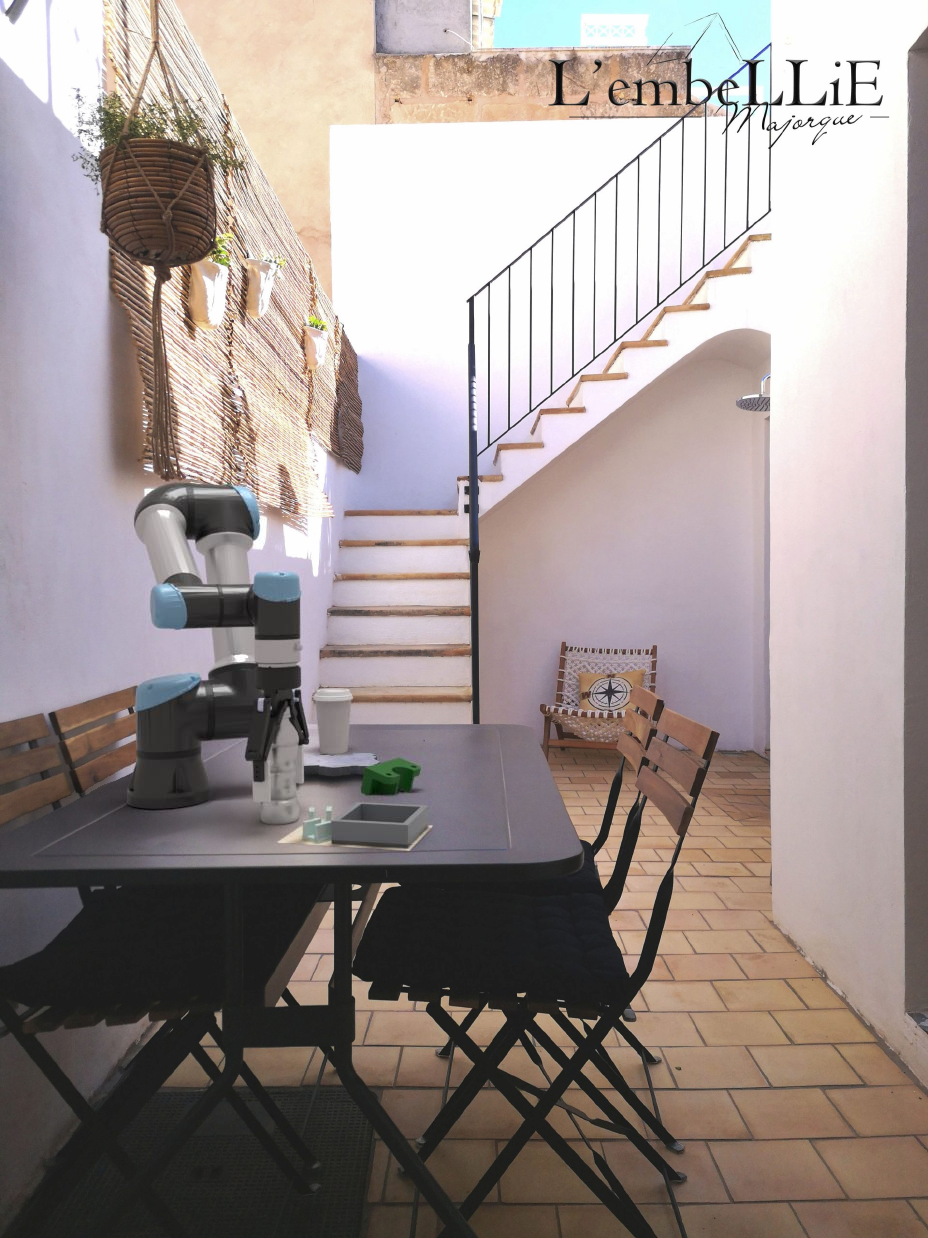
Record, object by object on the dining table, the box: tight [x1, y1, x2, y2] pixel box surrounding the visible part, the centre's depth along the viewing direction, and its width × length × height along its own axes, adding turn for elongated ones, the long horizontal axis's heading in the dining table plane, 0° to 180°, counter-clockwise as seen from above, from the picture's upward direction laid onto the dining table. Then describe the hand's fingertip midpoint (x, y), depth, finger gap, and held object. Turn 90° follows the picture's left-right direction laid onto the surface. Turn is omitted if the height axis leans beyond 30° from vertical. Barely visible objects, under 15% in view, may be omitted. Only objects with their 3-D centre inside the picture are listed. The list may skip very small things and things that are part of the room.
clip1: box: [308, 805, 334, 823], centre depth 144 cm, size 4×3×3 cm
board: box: [276, 824, 433, 852], centre depth 139 cm, size 21×14×1 cm, turn 78°
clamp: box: [360, 757, 422, 796], centre depth 171 cm, size 12×6×9 cm, turn 142°
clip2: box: [302, 817, 332, 844], centre depth 136 cm, size 4×3×3 cm
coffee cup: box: [313, 687, 354, 755], centre depth 214 cm, size 10×10×15 cm
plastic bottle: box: [259, 706, 301, 826], centre depth 148 cm, size 6×7×20 cm
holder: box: [331, 801, 429, 848], centre depth 138 cm, size 12×12×4 cm
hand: (279, 791), depth 148 cm, fingers open, 13 cm apart
